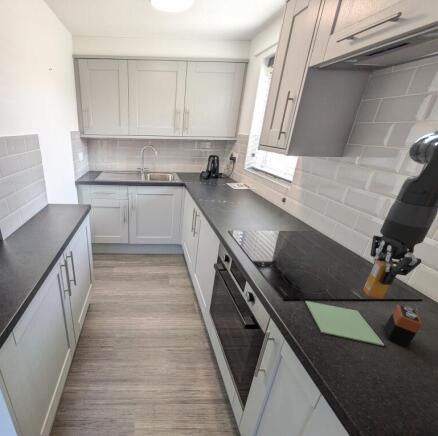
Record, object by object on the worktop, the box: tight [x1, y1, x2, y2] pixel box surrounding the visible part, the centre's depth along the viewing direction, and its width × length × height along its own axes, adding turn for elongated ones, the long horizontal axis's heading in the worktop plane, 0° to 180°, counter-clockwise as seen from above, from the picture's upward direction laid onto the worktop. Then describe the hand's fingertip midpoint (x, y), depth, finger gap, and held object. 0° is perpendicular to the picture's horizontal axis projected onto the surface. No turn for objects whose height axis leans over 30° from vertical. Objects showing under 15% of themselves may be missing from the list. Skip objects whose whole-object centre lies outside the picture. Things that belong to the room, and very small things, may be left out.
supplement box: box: [363, 260, 396, 300], centre depth 62 cm, size 3×3×10 cm
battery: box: [384, 304, 423, 347], centre depth 68 cm, size 4×7×10 cm, turn 141°
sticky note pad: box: [305, 300, 385, 347], centre depth 75 cm, size 16×14×1 cm
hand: (379, 278), depth 62 cm, fingers closed on supplement box, 3 cm apart
